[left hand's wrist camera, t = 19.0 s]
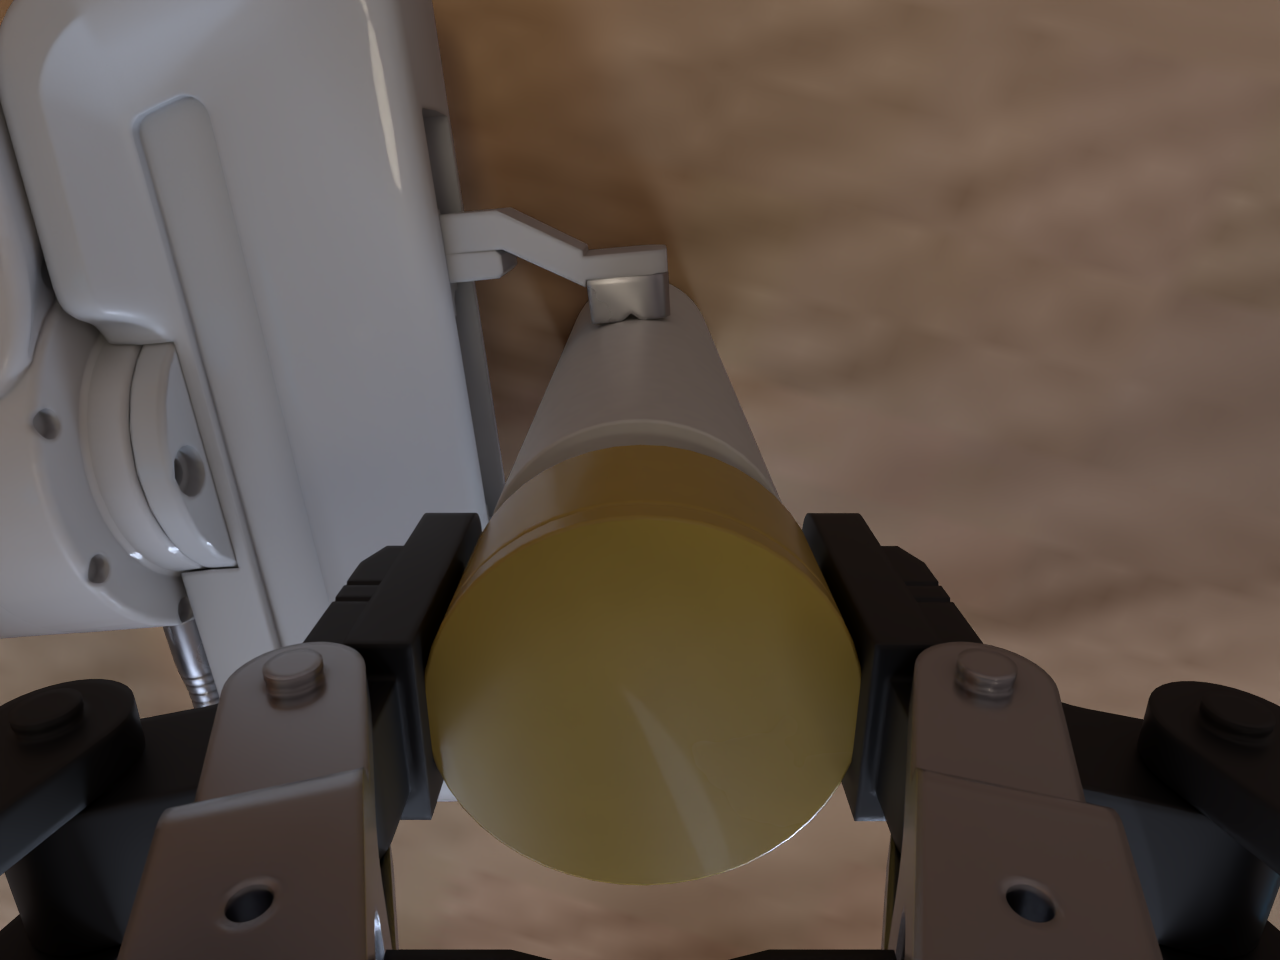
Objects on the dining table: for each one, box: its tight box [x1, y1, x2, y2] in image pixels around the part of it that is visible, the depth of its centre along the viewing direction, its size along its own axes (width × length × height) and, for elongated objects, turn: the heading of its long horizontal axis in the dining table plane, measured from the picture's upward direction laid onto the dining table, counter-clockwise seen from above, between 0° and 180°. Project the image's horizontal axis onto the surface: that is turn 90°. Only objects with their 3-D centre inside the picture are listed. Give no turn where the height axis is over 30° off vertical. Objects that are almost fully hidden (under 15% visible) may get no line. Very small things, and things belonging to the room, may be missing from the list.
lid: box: [424, 445, 861, 885], centre depth 10 cm, size 5×5×2 cm
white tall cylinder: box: [493, 284, 781, 515], centre depth 18 cm, size 4×4×17 cm
